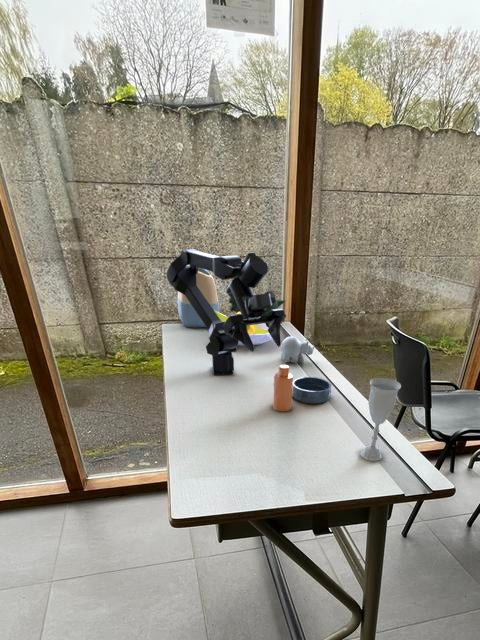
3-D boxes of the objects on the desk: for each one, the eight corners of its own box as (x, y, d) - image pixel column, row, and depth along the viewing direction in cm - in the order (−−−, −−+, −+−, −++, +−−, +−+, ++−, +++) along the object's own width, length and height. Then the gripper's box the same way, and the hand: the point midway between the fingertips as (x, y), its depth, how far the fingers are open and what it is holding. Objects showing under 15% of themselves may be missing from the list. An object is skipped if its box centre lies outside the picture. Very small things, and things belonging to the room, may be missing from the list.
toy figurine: (231, 326, 196) (286, 323, 197) (226, 280, 184) (284, 276, 185) (231, 321, 203) (284, 318, 204) (226, 275, 191) (283, 272, 193)
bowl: (296, 405, 127) (297, 392, 125) (287, 389, 136) (288, 377, 134) (334, 403, 129) (336, 391, 127) (323, 388, 139) (325, 376, 136)
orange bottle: (274, 411, 123) (276, 369, 115) (271, 404, 127) (272, 363, 119) (292, 411, 124) (295, 369, 117) (288, 403, 128) (291, 362, 120)
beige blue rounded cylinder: (221, 328, 187) (219, 267, 173) (181, 329, 183) (176, 266, 168) (215, 318, 199) (212, 260, 185) (178, 318, 195) (172, 259, 181)
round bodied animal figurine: (314, 364, 156) (317, 340, 151) (281, 364, 155) (283, 339, 150) (311, 357, 162) (313, 334, 157) (279, 357, 160) (280, 333, 155)
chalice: (354, 448, 108) (366, 377, 98) (380, 448, 109) (395, 378, 98) (360, 463, 103) (374, 390, 92) (388, 463, 103) (405, 390, 92)
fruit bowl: (290, 340, 179) (292, 310, 172) (251, 355, 160) (251, 323, 153) (236, 326, 190) (236, 298, 183) (194, 340, 171) (192, 309, 164)
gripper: (227, 282, 113) (250, 337, 113) (284, 277, 122) (306, 328, 122) (213, 308, 122) (235, 359, 122) (267, 302, 132) (287, 349, 132)
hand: (266, 348), depth 124 cm, fingers open, 9 cm apart
